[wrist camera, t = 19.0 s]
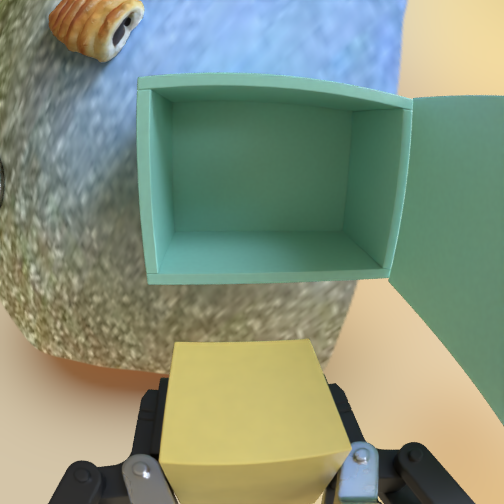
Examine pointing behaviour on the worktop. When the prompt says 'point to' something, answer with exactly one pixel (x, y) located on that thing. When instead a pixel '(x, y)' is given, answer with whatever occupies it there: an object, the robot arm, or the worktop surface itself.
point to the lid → (457, 233)
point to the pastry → (95, 25)
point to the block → (250, 424)
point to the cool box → (268, 178)
